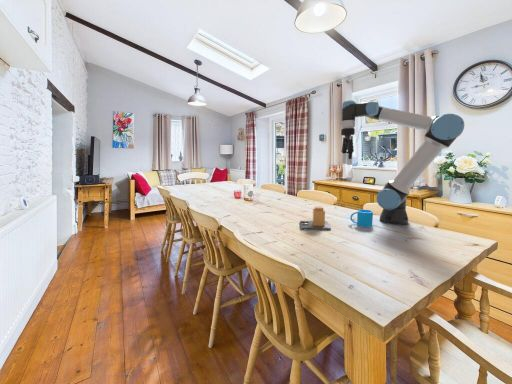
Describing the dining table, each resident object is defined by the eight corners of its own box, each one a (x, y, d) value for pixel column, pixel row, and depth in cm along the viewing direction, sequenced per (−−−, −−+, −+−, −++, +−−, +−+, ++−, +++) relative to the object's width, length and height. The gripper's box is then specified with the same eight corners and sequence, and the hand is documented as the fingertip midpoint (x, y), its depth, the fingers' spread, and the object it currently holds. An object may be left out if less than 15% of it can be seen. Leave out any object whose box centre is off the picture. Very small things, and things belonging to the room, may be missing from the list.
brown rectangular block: (323, 222, 143) (323, 206, 142) (324, 225, 137) (325, 208, 136) (312, 222, 144) (312, 206, 142) (313, 225, 138) (314, 208, 137)
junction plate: (327, 222, 147) (327, 212, 146) (330, 230, 133) (331, 219, 132) (300, 222, 149) (300, 212, 148) (301, 229, 135) (301, 218, 134)
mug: (371, 223, 145) (371, 209, 143) (373, 227, 137) (374, 213, 136) (349, 222, 148) (350, 208, 147) (350, 225, 140) (351, 212, 139)
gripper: (337, 130, 157) (336, 163, 160) (346, 126, 133) (344, 165, 136) (349, 130, 156) (348, 163, 159) (360, 125, 132) (358, 165, 135)
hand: (346, 164), depth 148 cm, fingers open, 13 cm apart
